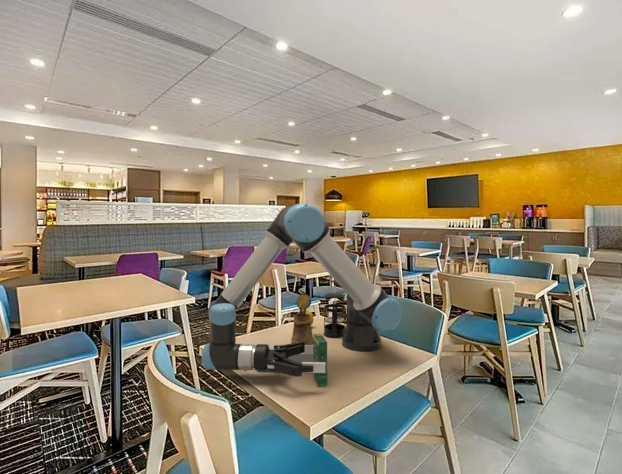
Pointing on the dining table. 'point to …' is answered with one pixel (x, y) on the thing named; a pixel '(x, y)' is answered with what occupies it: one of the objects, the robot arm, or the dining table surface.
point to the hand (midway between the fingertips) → (325, 358)
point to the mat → (297, 359)
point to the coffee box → (320, 357)
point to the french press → (334, 316)
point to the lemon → (310, 316)
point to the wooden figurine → (302, 322)
